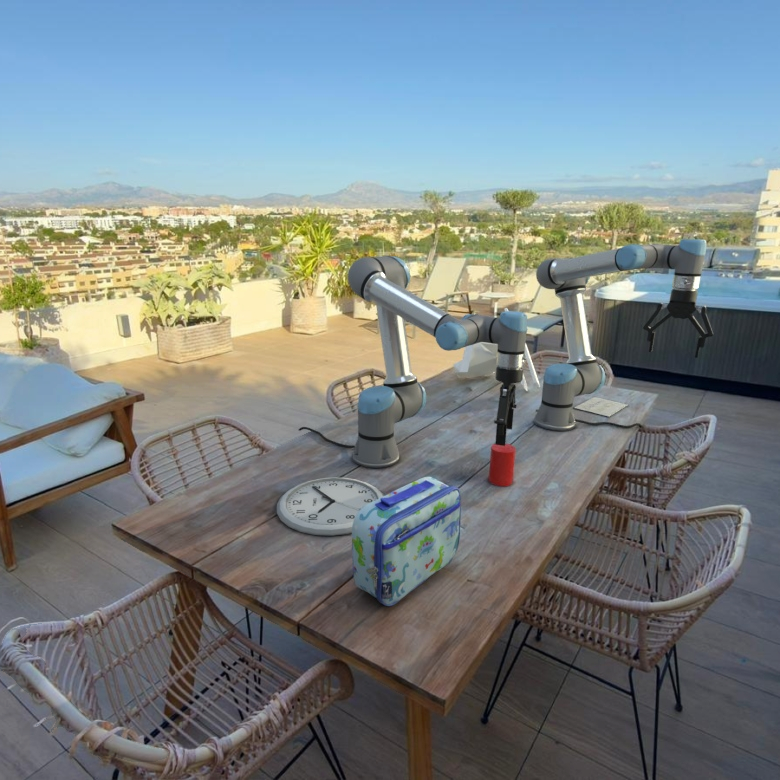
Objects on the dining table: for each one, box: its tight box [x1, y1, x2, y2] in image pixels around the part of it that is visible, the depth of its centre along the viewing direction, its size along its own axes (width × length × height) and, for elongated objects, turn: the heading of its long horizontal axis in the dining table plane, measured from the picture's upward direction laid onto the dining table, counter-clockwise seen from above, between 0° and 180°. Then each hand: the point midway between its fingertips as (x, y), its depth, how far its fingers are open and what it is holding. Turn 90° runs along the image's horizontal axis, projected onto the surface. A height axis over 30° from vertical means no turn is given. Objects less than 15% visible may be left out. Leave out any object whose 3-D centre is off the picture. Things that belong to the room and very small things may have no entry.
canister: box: [488, 443, 517, 487], centre depth 157 cm, size 7×7×11 cm
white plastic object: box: [452, 307, 541, 392], centre depth 256 cm, size 37×45×31 cm
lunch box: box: [351, 476, 462, 607], centre depth 111 cm, size 26×11×21 cm, turn 135°
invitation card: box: [573, 396, 629, 418], centre depth 226 cm, size 21×1×15 cm
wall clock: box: [276, 476, 385, 537], centre depth 142 cm, size 30×2×30 cm
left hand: (504, 436), depth 154 cm, fingers open, 13 cm apart
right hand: (673, 354), depth 173 cm, fingers open, 13 cm apart
